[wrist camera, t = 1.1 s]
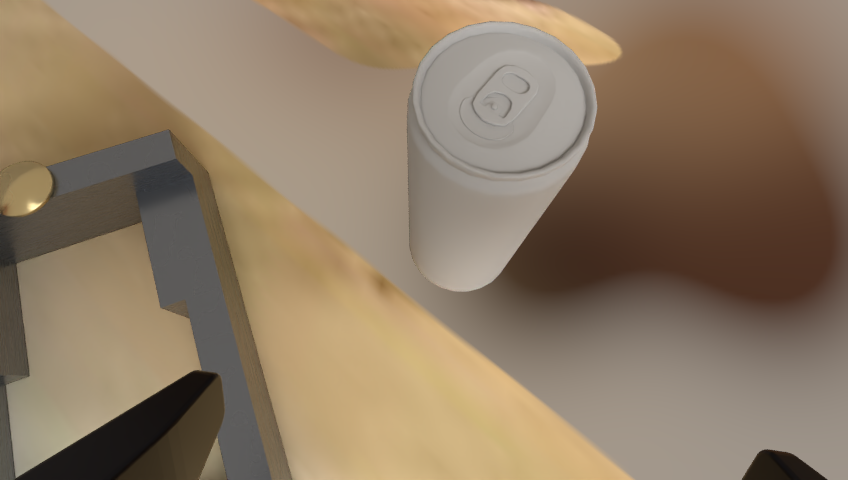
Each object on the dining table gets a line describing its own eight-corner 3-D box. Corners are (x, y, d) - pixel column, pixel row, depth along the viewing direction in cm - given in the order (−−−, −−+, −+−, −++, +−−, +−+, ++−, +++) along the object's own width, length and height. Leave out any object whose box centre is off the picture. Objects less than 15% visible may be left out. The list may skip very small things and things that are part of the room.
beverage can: (389, 253, 22) (365, 105, 11) (449, 183, 24) (483, -13, 12) (468, 315, 22) (530, 224, 10) (526, 239, 23) (640, 83, 11)
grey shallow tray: (308, 539, 18) (279, 578, 14) (-10, 681, 17) (-140, 769, 13) (205, 165, 24) (164, 118, 20) (-44, 245, 22) (-145, 211, 18)
